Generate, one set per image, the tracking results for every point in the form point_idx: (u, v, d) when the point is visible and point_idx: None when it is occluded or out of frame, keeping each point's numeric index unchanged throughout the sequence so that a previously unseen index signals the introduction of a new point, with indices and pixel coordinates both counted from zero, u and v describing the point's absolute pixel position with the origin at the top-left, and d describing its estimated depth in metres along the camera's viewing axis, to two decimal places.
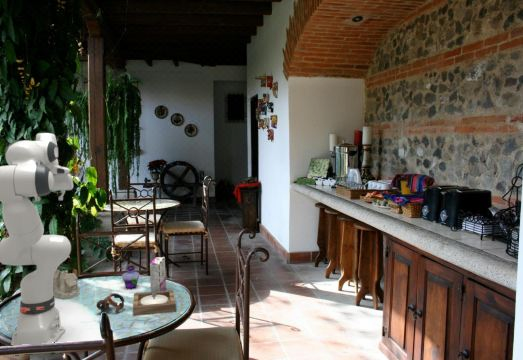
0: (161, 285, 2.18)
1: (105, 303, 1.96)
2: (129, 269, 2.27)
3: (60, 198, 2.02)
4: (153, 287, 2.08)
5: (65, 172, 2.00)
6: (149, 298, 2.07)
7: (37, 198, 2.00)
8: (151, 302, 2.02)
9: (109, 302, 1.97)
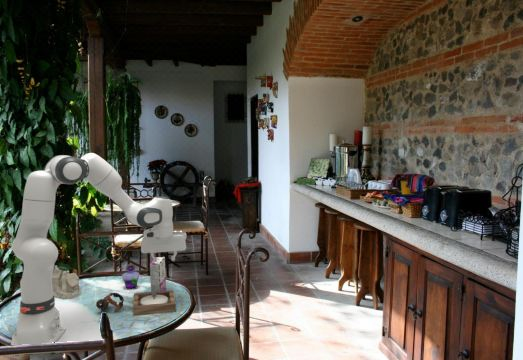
0: (161, 285, 2.18)
1: (105, 302, 1.97)
2: (129, 269, 2.27)
3: None
4: (153, 287, 2.08)
5: None
6: (149, 298, 2.07)
7: None
8: (151, 302, 2.02)
9: (109, 301, 1.98)
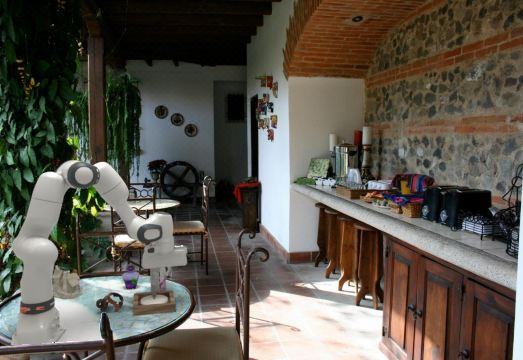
0: (161, 285, 2.18)
1: (104, 302, 1.98)
2: (129, 269, 2.27)
3: None
4: (153, 287, 2.08)
5: None
6: (149, 298, 2.07)
7: None
8: (151, 302, 2.02)
9: (108, 301, 1.98)
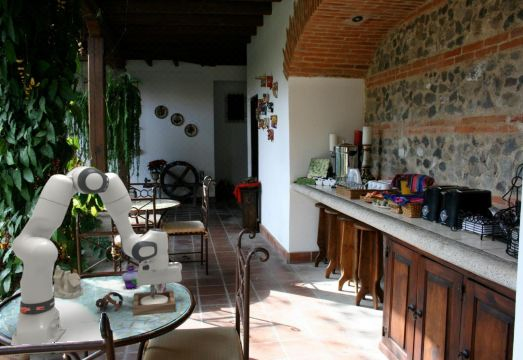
0: (161, 285, 2.18)
1: (104, 301, 1.98)
2: (129, 269, 2.27)
3: None
4: (152, 287, 2.08)
5: None
6: (148, 298, 2.06)
7: None
8: (152, 302, 2.02)
9: (108, 300, 1.99)
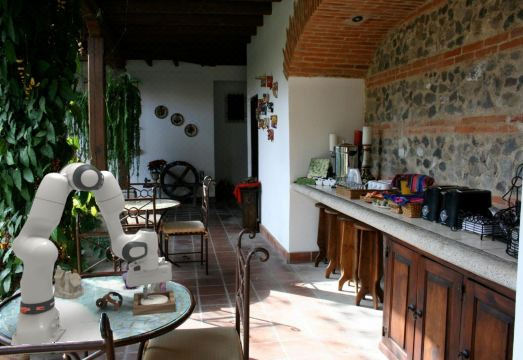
0: (161, 285, 2.18)
1: (104, 301, 1.99)
2: None
3: None
4: (146, 289, 2.05)
5: None
6: (147, 300, 2.04)
7: None
8: (160, 301, 2.03)
9: (108, 300, 1.99)
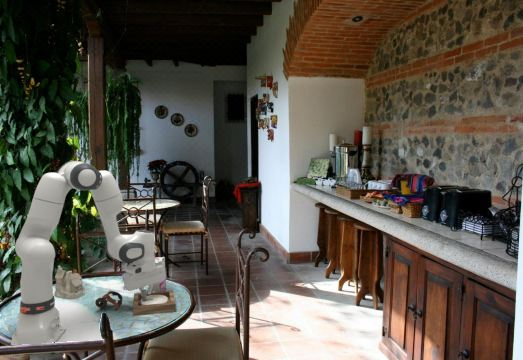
0: (161, 285, 2.18)
1: (104, 300, 1.99)
2: None
3: None
4: None
5: None
6: (149, 301, 2.02)
7: None
8: (162, 299, 2.05)
9: (108, 299, 2.00)
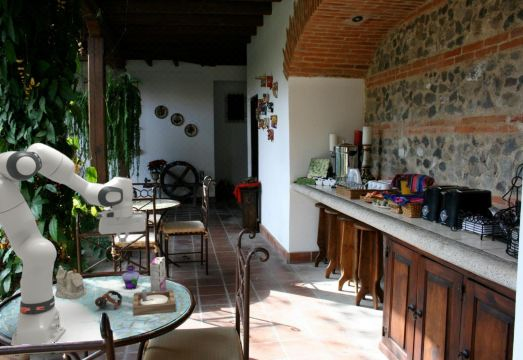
0: (161, 285, 2.18)
1: (103, 300, 2.00)
2: (129, 269, 2.27)
3: None
4: None
5: None
6: (149, 301, 2.02)
7: None
8: (162, 299, 2.05)
9: (107, 299, 2.00)
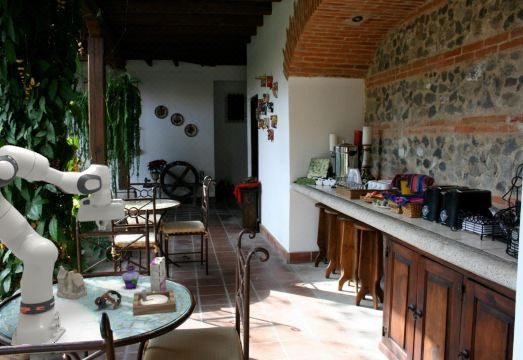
0: (161, 285, 2.18)
1: (103, 299, 2.01)
2: (129, 269, 2.27)
3: None
4: None
5: None
6: (149, 301, 2.02)
7: None
8: (162, 299, 2.05)
9: (107, 298, 2.01)
